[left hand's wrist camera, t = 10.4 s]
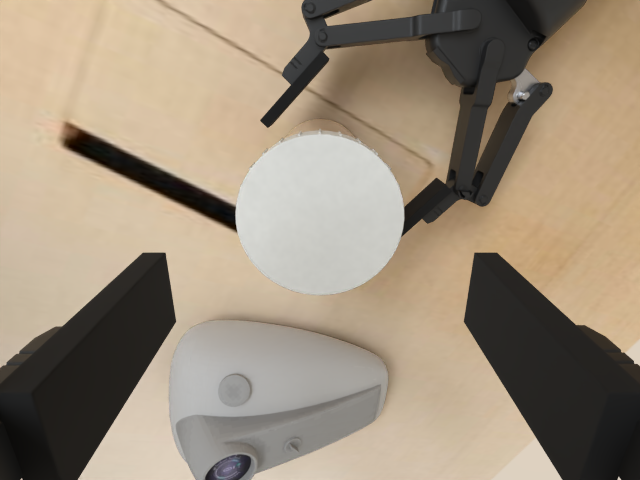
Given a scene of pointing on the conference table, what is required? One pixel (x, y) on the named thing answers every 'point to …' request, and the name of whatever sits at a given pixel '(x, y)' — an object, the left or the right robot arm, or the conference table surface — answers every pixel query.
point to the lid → (320, 213)
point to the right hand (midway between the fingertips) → (328, 183)
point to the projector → (266, 395)
